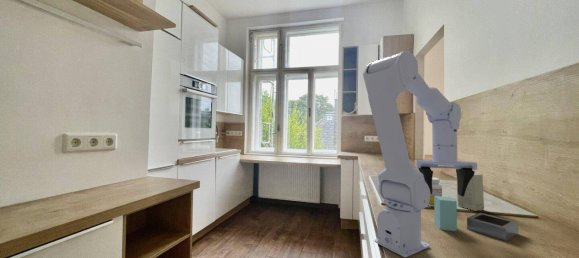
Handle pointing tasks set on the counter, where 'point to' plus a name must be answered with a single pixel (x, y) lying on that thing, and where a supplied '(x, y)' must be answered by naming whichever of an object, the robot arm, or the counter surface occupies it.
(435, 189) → the supplement bottle
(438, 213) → the peg
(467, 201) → the skincare box
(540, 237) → the counter surface
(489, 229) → the socket
